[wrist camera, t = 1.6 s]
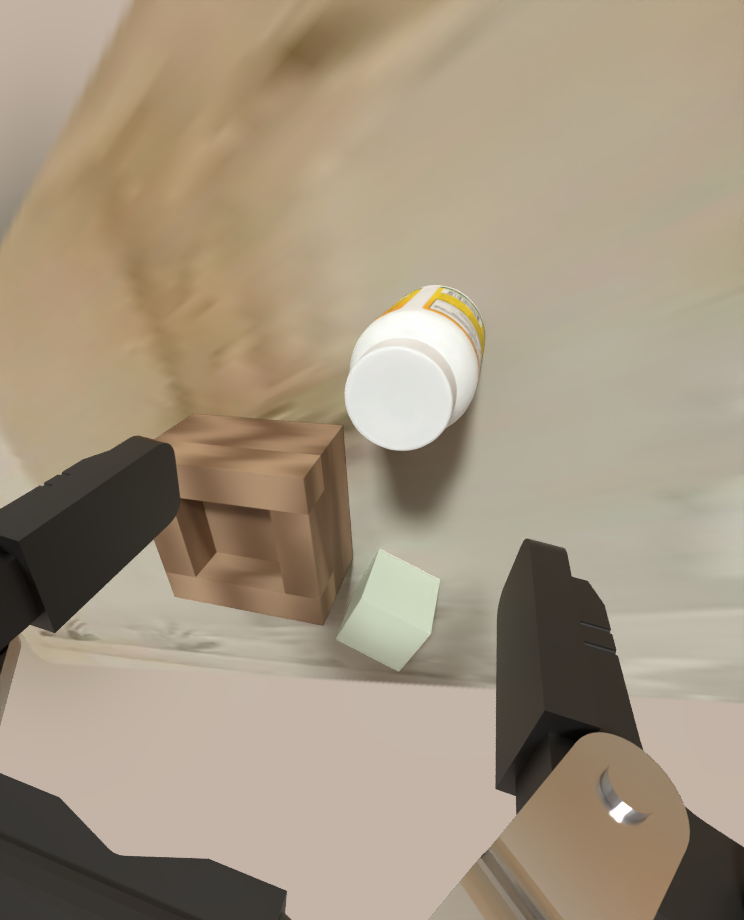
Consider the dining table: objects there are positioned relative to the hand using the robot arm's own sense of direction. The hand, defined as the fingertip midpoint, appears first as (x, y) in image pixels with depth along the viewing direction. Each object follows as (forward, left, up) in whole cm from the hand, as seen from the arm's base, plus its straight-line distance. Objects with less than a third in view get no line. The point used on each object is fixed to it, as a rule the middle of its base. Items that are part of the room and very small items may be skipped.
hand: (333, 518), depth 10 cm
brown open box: (+9, +13, -17) cm, 23 cm away
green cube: (-1, +19, -17) cm, 25 cm away
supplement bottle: (0, 0, -17) cm, 17 cm away
